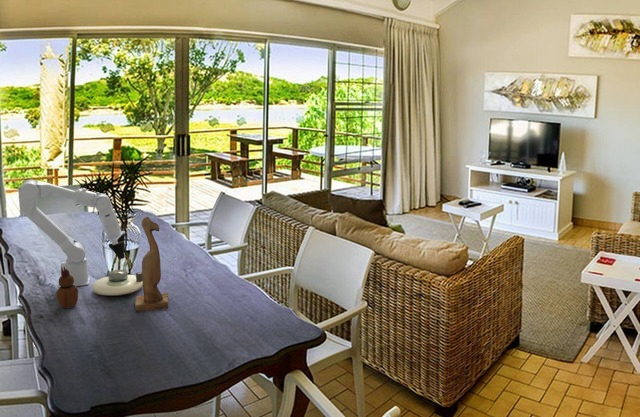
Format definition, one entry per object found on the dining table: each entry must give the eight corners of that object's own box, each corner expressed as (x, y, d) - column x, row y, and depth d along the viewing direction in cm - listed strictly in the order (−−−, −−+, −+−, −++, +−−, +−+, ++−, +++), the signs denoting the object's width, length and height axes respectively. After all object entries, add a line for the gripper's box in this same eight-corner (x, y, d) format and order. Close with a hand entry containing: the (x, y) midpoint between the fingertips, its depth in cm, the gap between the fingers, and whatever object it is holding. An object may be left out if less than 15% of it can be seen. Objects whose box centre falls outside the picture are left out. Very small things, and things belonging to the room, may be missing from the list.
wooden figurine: (65, 311, 197) (61, 269, 193) (54, 307, 200) (50, 266, 196) (82, 305, 202) (78, 264, 199) (72, 301, 205) (68, 261, 202)
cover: (108, 282, 217) (107, 275, 216) (109, 276, 223) (108, 270, 223) (127, 281, 219) (127, 274, 218) (128, 275, 225) (127, 268, 225)
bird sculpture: (170, 309, 200) (169, 219, 194) (135, 312, 196) (133, 221, 190) (167, 298, 211) (166, 212, 204) (134, 301, 207) (132, 214, 200)
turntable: (90, 297, 206) (89, 285, 205) (94, 280, 223) (93, 269, 222) (143, 292, 212) (142, 280, 211) (142, 276, 228) (142, 265, 227)
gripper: (120, 226, 218) (132, 258, 222) (121, 216, 231) (132, 246, 236) (101, 231, 216) (113, 264, 221) (103, 221, 230) (115, 252, 234)
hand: (122, 255), depth 228 cm, fingers open, 7 cm apart
